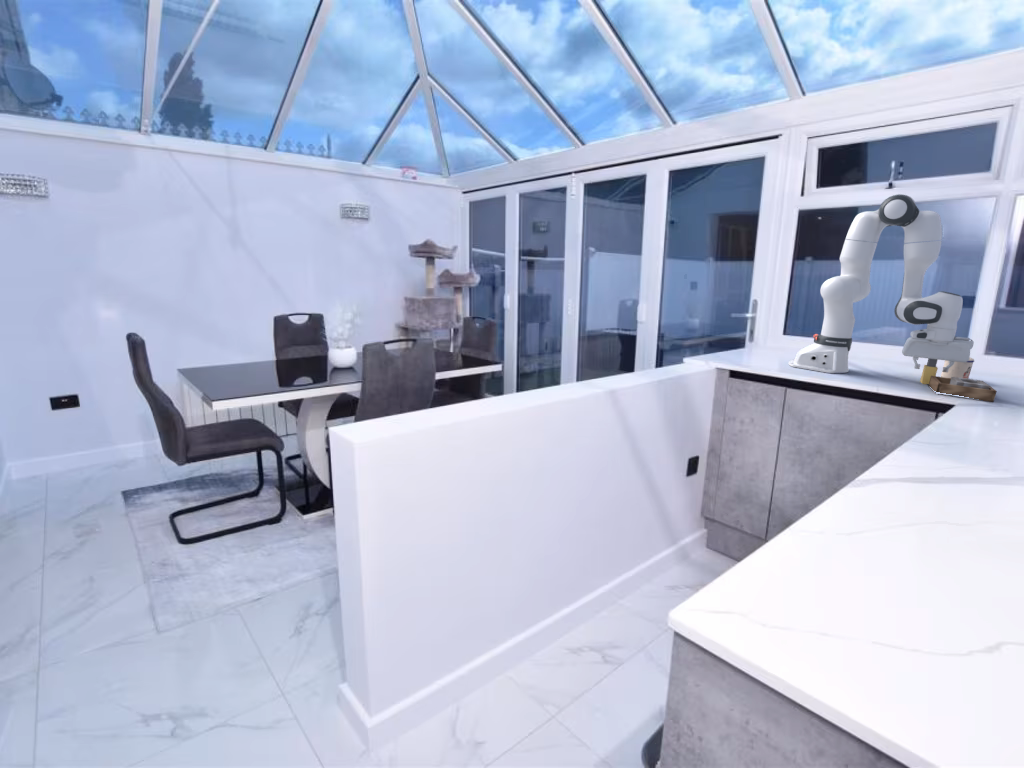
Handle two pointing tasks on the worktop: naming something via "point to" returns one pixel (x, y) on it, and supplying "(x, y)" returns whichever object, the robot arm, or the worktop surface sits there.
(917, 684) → the worktop surface
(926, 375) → the connector
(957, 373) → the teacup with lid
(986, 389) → the walled box
